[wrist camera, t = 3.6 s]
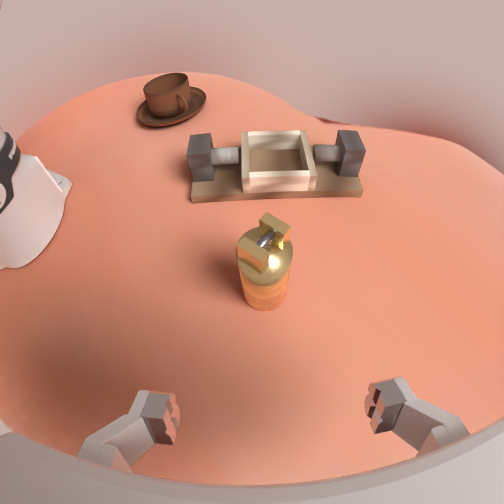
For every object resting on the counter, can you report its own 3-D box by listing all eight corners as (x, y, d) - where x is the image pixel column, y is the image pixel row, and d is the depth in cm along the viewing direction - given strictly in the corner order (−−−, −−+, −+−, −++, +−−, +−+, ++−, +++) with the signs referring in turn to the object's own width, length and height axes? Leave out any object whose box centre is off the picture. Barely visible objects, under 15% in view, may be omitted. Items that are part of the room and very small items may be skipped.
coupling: (235, 294, 27) (220, 240, 18) (260, 264, 29) (258, 201, 20) (268, 319, 26) (270, 275, 17) (293, 287, 27) (307, 230, 19)
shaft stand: (192, 203, 33) (181, 169, 28) (198, 157, 37) (190, 124, 32) (360, 197, 32) (373, 164, 27) (345, 152, 36) (353, 120, 31)
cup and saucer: (221, 100, 44) (217, 70, 38) (176, 139, 39) (166, 106, 34) (170, 91, 47) (164, 65, 42) (126, 126, 42) (115, 98, 37)
